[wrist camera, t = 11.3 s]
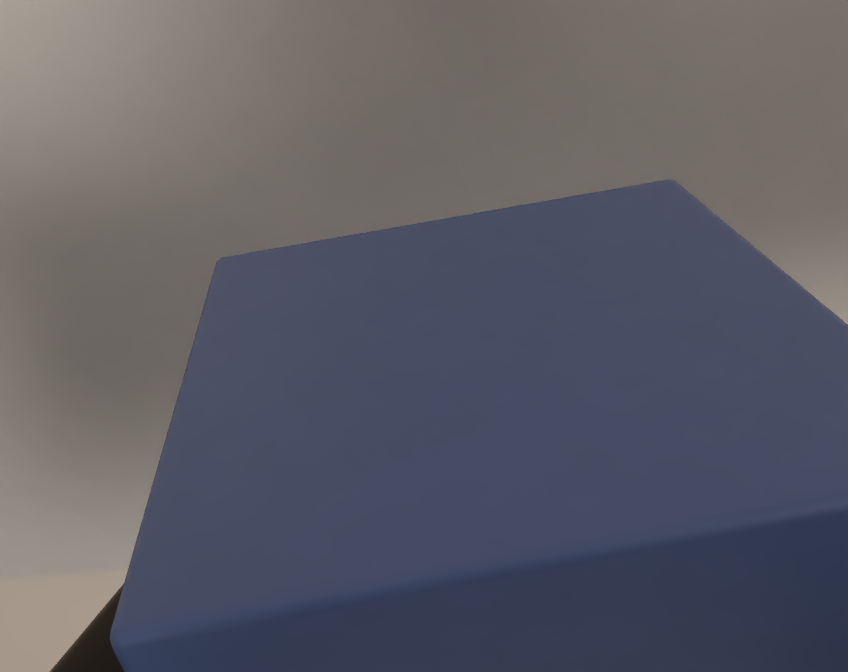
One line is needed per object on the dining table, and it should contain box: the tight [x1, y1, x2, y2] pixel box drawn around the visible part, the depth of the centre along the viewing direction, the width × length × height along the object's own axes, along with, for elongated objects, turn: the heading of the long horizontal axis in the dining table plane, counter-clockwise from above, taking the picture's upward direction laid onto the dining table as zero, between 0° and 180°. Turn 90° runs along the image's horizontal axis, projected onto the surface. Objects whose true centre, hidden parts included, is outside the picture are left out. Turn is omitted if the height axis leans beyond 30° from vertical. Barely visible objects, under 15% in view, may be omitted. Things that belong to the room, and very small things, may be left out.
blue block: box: [110, 180, 848, 672], centre depth 7 cm, size 4×4×4 cm
